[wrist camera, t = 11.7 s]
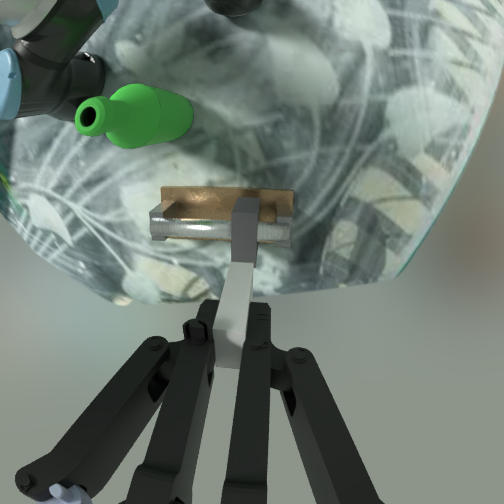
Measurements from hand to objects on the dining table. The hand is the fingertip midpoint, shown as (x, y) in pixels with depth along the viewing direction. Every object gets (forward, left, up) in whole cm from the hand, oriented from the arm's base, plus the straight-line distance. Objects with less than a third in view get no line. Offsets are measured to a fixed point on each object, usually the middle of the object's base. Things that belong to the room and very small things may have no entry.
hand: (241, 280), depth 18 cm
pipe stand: (-6, -6, -32) cm, 33 cm away
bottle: (-16, +12, -33) cm, 38 cm away
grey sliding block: (-1, -6, -29) cm, 29 cm away
